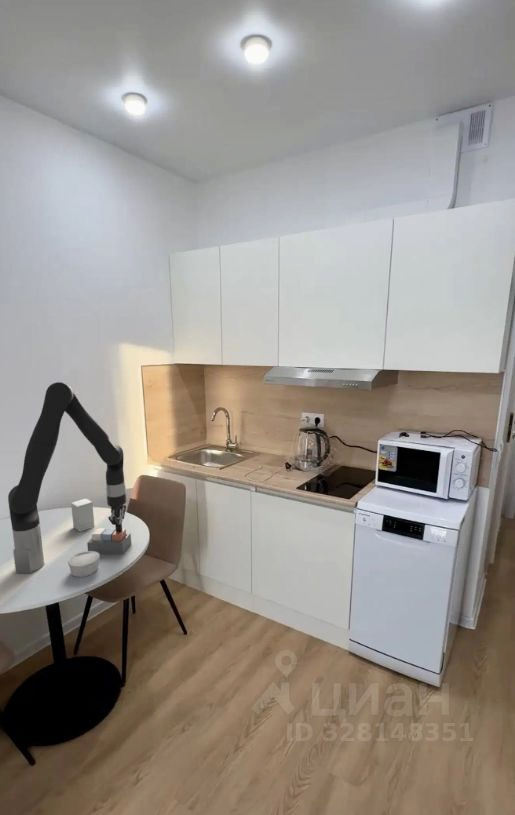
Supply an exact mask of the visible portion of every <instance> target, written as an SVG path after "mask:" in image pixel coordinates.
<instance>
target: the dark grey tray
mask: <svg viewBox="0 0 515 815" xmlns="http://www.w3.org/2000/svg"><path fill="white" fill-rule="evenodd" d="M130 544H131V545H132V533H131V532H126V537H125V538H124V539H123V541H92V537H91V538H90V539H89V540H88V541H87V543H86V545H87V551H95V552H97V553H99V555H121V554H123V555H124V554H125V553H126V551H127V550H128V549H127V548H130V546H131V545H130Z"/></svg>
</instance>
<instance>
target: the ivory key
mask: <svg viewBox="0 0 515 815" xmlns="http://www.w3.org/2000/svg"><path fill="white" fill-rule="evenodd" d="M106 529H107V528H101V527H100V528H96V529H95V530H94V531H93V532H92V533H91V538H92V541H102V534H103V533H104V531H105V530H106Z"/></svg>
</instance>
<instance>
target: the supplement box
mask: <svg viewBox="0 0 515 815" xmlns="http://www.w3.org/2000/svg"><path fill="white" fill-rule="evenodd" d="M70 504H71V514H72V515H71V516H72V527H73V529H76V530H77V531H78V532H83V531H86V530H90V529H92V528H94V527H95V517H94V506H93V501H92V500H90V499H88V498H83V499H80V500H76V501H72V502H71V503H70Z"/></svg>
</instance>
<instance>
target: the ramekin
mask: <svg viewBox="0 0 515 815" xmlns="http://www.w3.org/2000/svg"><path fill="white" fill-rule="evenodd" d="M100 555H101V554H99V553H97V552H95V551H88V550H87V551H82V552H77V553H76V554H73V555H72V556H70V557H69V559H68V561H67V564H68V566H69V569H70V573H71V575H73V576H74V577H76V578H84V577H88V576H90V575H93V574H94V573H95V572H97V570H98V569H99V565H100V564H99V563H100V558H101V556H100Z"/></svg>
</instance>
